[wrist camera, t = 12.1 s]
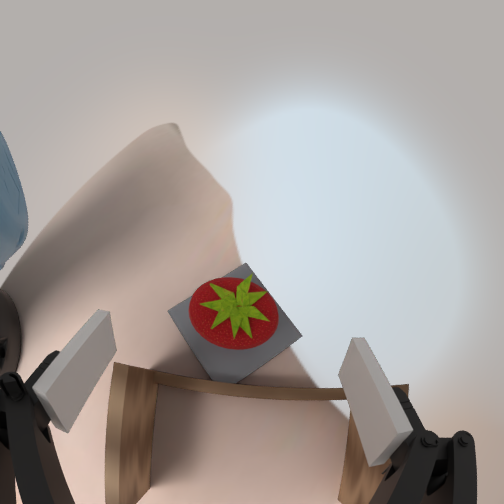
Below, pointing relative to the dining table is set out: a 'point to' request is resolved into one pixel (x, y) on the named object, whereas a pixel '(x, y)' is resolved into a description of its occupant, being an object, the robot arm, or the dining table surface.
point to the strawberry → (233, 313)
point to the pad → (228, 360)
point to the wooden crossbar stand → (146, 386)
